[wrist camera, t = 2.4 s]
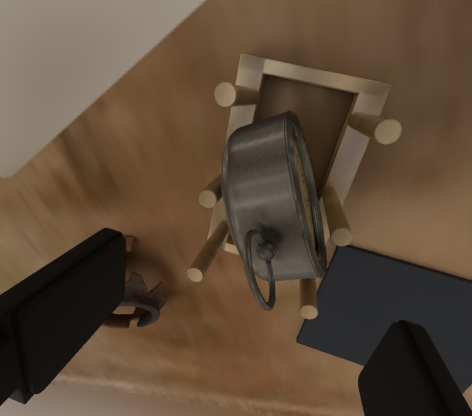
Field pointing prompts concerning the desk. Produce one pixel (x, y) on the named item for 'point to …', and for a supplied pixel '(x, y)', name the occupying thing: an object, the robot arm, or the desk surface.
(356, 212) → the desk surface
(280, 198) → the alarm clock
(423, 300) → the desk mat
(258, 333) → the desk surface
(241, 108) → the dowel rack
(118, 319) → the pottery mug
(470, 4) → the desk surface
